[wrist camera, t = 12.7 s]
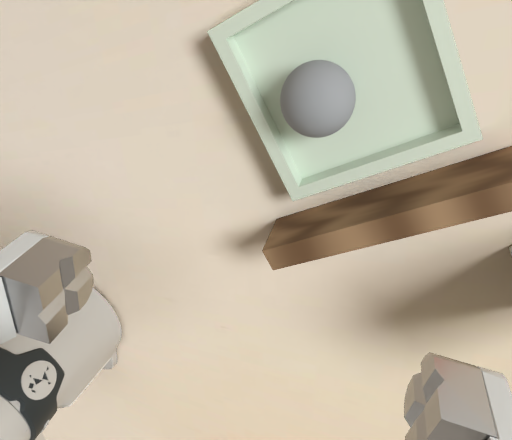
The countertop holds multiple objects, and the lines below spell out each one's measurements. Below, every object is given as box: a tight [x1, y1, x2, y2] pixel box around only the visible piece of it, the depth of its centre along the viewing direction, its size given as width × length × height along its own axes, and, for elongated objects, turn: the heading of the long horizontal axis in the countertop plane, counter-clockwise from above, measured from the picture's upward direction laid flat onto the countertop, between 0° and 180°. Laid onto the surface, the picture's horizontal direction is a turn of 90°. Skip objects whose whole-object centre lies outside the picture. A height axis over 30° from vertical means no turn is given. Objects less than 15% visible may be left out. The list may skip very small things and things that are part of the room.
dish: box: [207, 0, 483, 201], centre depth 29 cm, size 14×14×2 cm
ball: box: [280, 60, 356, 138], centre depth 28 cm, size 5×5×5 cm
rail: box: [262, 146, 512, 270], centre depth 31 cm, size 20×2×5 cm, turn 118°
